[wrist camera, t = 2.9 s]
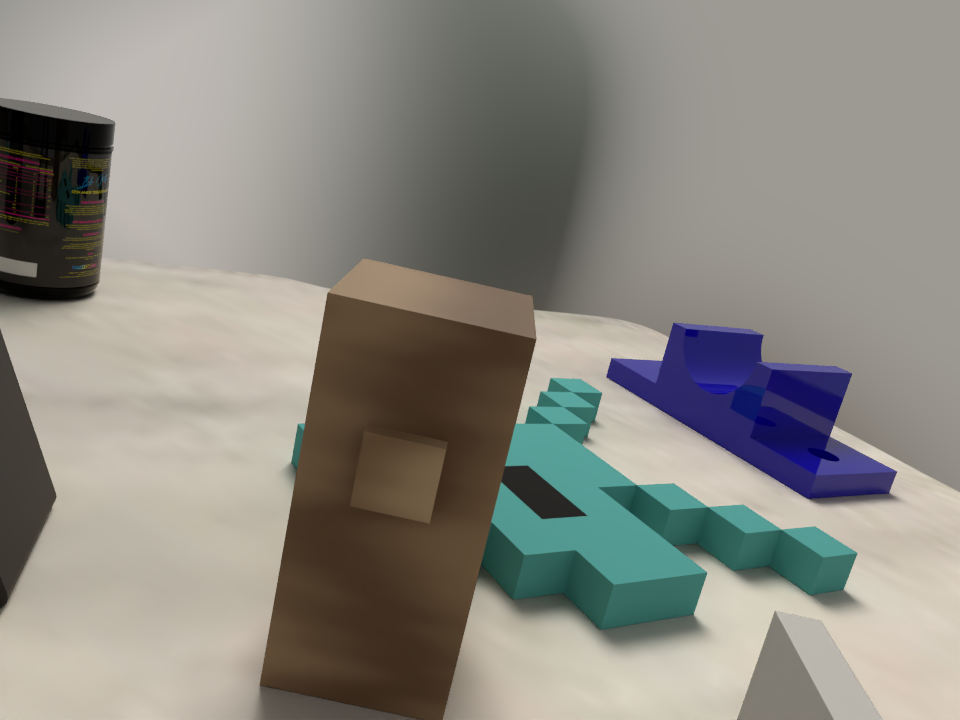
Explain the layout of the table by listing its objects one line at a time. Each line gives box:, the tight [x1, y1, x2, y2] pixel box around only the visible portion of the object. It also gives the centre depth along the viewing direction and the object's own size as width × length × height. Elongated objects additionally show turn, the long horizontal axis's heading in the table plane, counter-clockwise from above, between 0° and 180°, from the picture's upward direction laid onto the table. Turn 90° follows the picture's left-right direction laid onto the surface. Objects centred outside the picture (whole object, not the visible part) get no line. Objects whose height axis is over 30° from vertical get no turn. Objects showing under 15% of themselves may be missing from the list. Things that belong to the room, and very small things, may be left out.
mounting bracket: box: [607, 323, 897, 499], centre depth 54 cm, size 18×7×6 cm, turn 30°
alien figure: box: [292, 378, 857, 630], centre depth 39 cm, size 20×2×20 cm
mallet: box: [260, 259, 536, 720], centre depth 28 cm, size 5×14×11 cm, turn 178°
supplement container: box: [0, 98, 115, 300], centre depth 50 cm, size 7×7×10 cm
